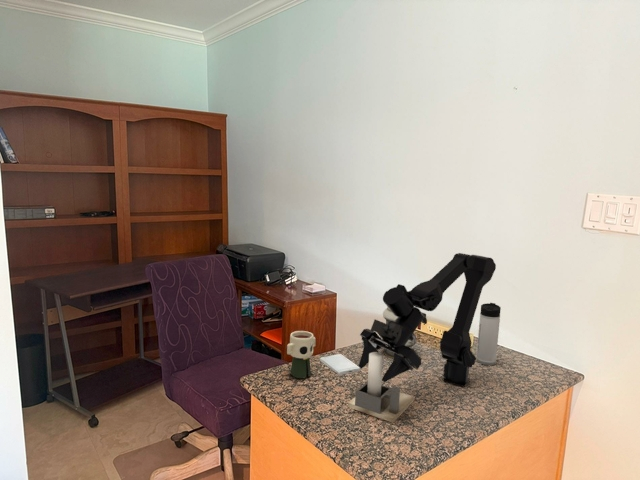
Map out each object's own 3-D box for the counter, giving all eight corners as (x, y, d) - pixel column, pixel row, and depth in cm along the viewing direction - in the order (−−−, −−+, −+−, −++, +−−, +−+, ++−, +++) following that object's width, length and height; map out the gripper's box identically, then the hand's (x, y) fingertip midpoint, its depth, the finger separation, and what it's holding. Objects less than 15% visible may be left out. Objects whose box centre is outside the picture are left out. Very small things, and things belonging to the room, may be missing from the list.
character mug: (294, 384, 130) (295, 342, 128) (279, 376, 135) (280, 335, 133) (321, 374, 137) (323, 334, 135) (306, 367, 142) (307, 327, 140)
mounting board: (413, 400, 123) (414, 396, 122) (393, 422, 111) (393, 418, 111) (371, 387, 130) (371, 383, 129) (347, 407, 118) (347, 402, 118)
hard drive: (319, 357, 148) (339, 371, 137) (341, 353, 152) (361, 367, 141) (319, 362, 148) (339, 377, 137) (340, 358, 152) (361, 372, 141)
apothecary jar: (381, 345, 163) (384, 298, 161) (415, 349, 161) (418, 301, 158) (379, 358, 151) (382, 307, 149) (415, 362, 149) (419, 310, 146)
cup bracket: (402, 407, 116) (404, 384, 116) (391, 418, 110) (392, 395, 110) (367, 395, 122) (368, 373, 121) (354, 406, 116) (356, 383, 115)
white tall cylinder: (381, 399, 118) (383, 353, 117) (380, 406, 115) (382, 358, 113) (367, 398, 119) (369, 351, 117) (366, 404, 116) (368, 356, 114)
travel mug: (497, 361, 153) (502, 304, 150) (493, 367, 147) (498, 308, 144) (478, 356, 156) (483, 301, 153) (474, 362, 150) (479, 305, 148)
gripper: (366, 300, 123) (333, 345, 119) (416, 318, 108) (379, 371, 103) (386, 323, 129) (354, 367, 124) (436, 343, 114) (402, 395, 109)
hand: (371, 374), depth 115 cm, fingers open, 9 cm apart
